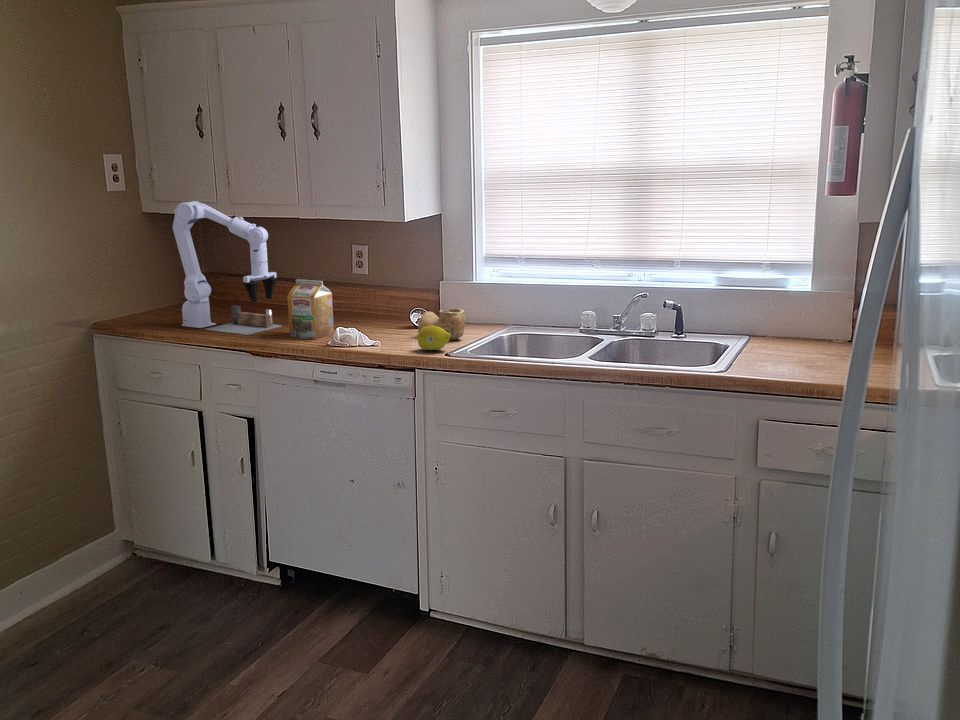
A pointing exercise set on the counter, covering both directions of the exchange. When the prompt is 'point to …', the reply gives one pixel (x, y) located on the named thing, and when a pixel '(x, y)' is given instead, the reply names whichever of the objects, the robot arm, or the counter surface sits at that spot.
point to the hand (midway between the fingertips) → (261, 300)
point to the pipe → (445, 321)
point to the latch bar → (249, 318)
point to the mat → (241, 328)
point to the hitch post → (269, 312)
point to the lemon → (432, 338)
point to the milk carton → (310, 310)
